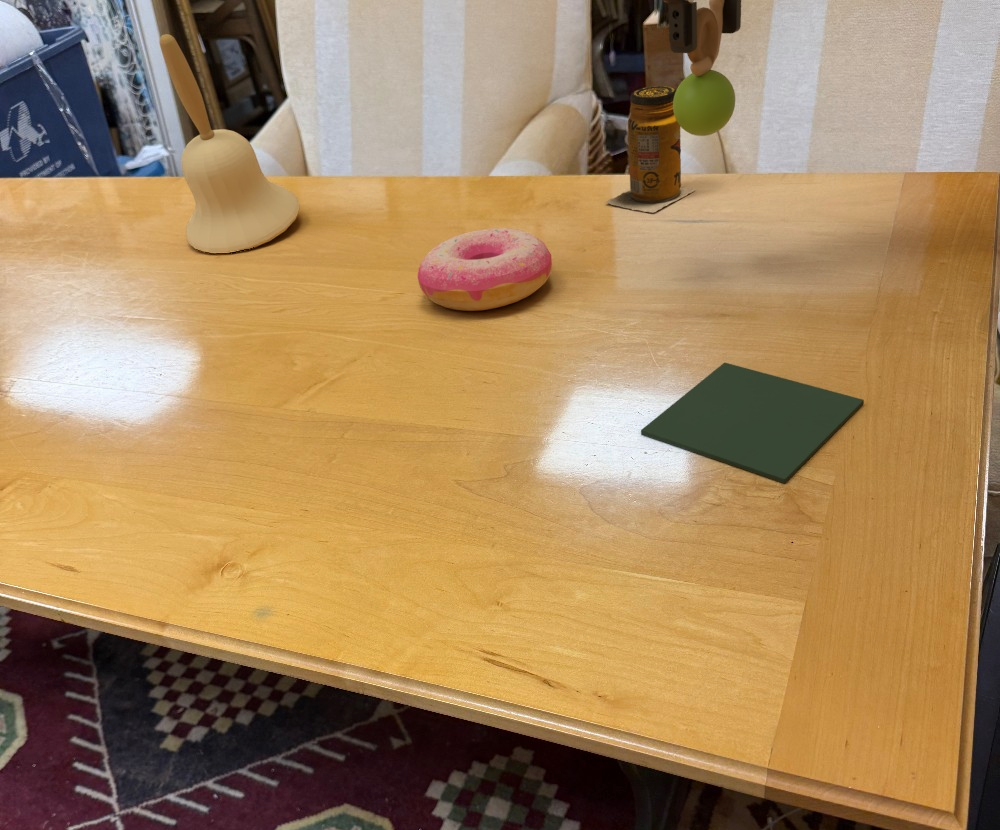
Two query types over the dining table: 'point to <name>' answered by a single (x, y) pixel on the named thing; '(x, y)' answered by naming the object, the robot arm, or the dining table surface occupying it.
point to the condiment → (653, 152)
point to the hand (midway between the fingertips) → (705, 41)
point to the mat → (753, 420)
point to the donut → (484, 269)
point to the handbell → (224, 177)
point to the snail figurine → (705, 80)
